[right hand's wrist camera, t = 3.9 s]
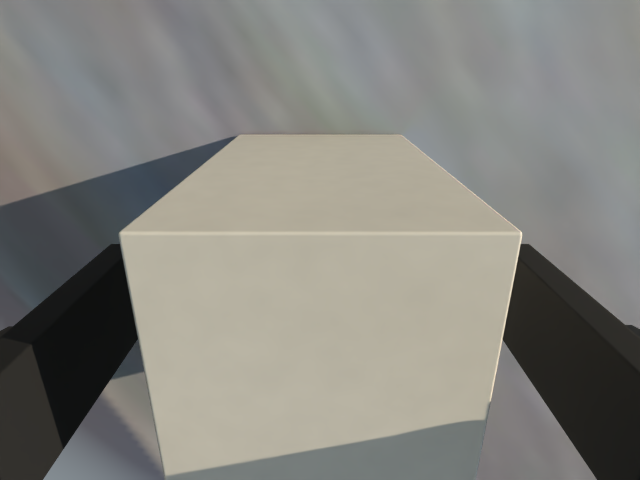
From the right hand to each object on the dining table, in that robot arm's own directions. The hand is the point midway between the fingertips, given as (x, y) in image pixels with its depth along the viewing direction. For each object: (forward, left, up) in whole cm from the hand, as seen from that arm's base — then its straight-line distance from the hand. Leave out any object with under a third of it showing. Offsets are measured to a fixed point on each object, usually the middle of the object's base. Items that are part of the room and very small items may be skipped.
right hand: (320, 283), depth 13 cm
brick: (0, 0, -5) cm, 5 cm away
